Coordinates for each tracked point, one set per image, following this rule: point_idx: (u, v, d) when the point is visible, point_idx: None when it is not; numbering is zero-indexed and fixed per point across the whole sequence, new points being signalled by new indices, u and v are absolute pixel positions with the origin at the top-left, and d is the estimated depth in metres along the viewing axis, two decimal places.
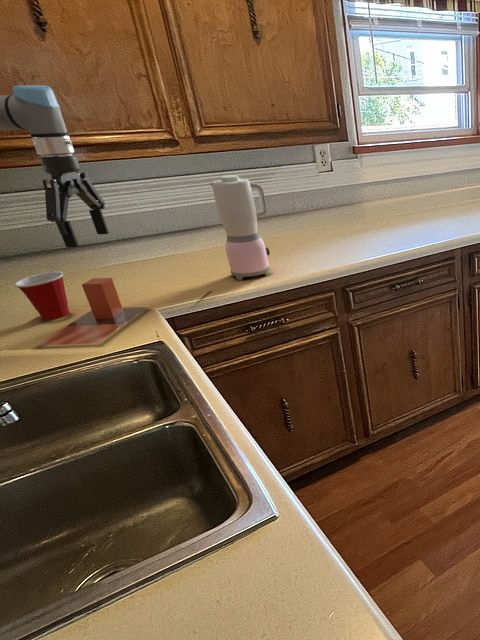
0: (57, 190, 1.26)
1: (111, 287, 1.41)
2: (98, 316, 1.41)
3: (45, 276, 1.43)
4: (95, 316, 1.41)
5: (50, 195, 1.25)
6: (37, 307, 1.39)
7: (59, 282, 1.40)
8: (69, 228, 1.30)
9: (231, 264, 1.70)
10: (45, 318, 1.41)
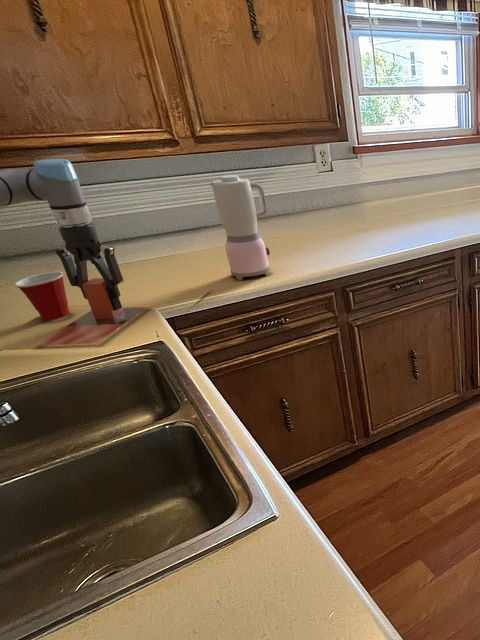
0: (63, 259, 1.34)
1: None
2: (98, 316, 1.41)
3: (45, 276, 1.43)
4: (95, 316, 1.41)
5: None
6: (37, 307, 1.39)
7: (59, 282, 1.40)
8: None
9: (231, 264, 1.70)
10: (45, 318, 1.41)
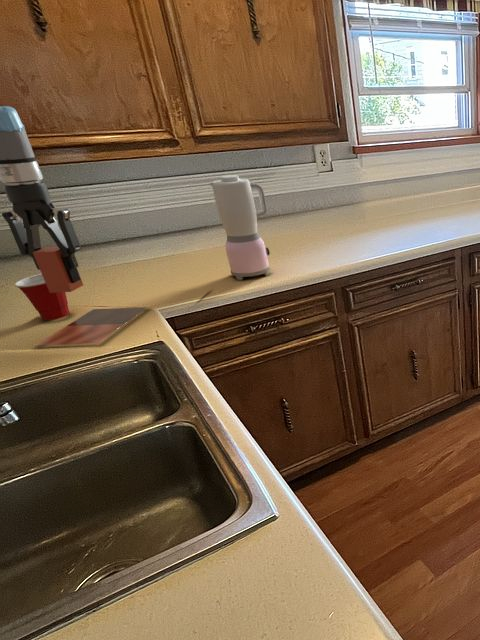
0: (11, 223, 1.19)
1: None
2: (53, 289, 1.25)
3: None
4: (50, 289, 1.25)
5: None
6: (37, 307, 1.39)
7: None
8: None
9: (231, 264, 1.70)
10: (45, 318, 1.41)
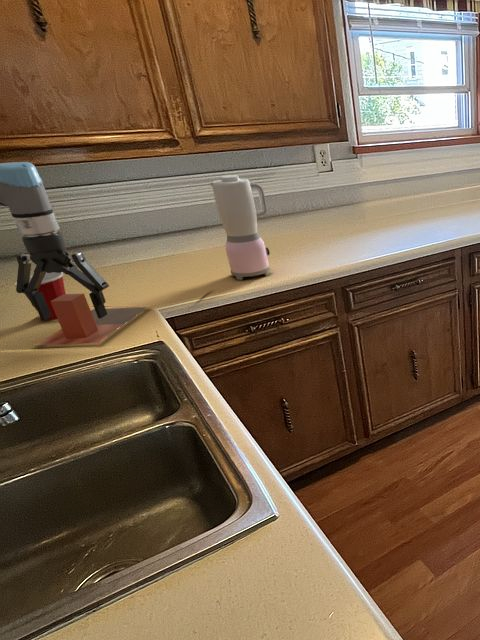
0: (21, 266, 1.22)
1: (83, 304, 1.30)
2: (69, 335, 1.30)
3: (45, 276, 1.43)
4: (66, 335, 1.30)
5: None
6: None
7: (59, 282, 1.40)
8: None
9: (231, 264, 1.70)
10: None
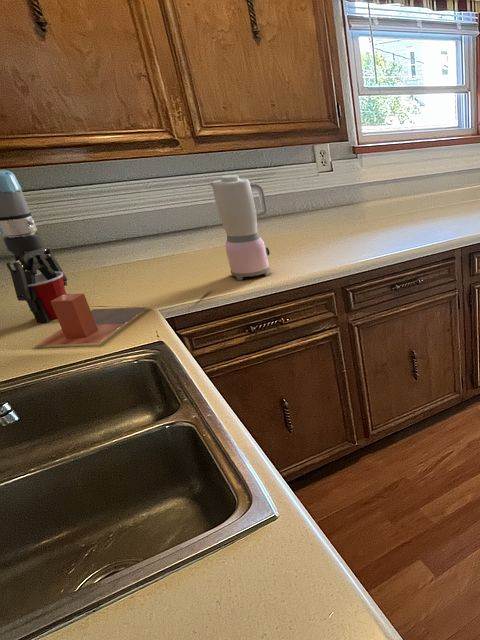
0: (22, 271, 1.32)
1: (83, 304, 1.30)
2: (69, 335, 1.30)
3: None
4: (66, 335, 1.30)
5: (16, 277, 1.32)
6: None
7: (59, 282, 1.40)
8: (40, 306, 1.37)
9: (231, 264, 1.70)
10: None
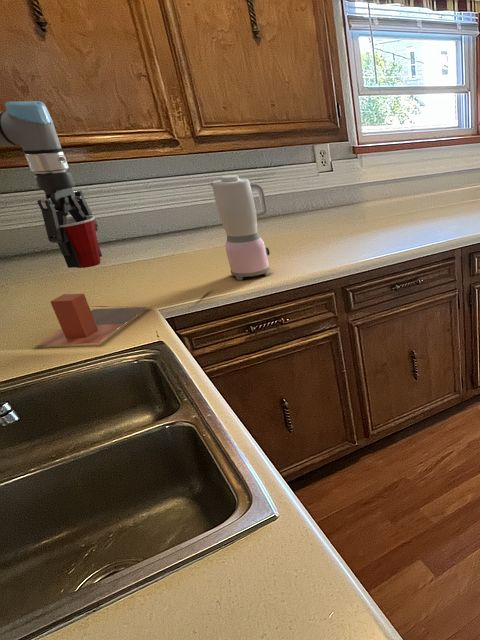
0: (54, 210, 1.25)
1: (83, 304, 1.30)
2: (69, 335, 1.30)
3: None
4: (66, 335, 1.30)
5: (48, 216, 1.24)
6: None
7: (91, 225, 1.32)
8: (71, 249, 1.30)
9: (231, 264, 1.70)
10: None
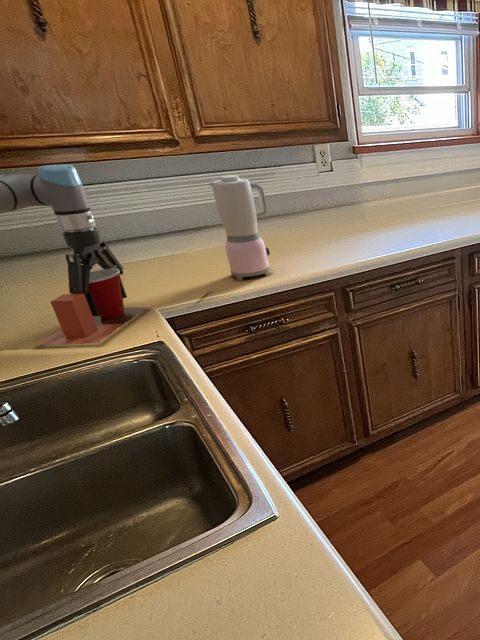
0: (79, 264, 1.30)
1: (83, 304, 1.30)
2: (69, 335, 1.30)
3: (101, 273, 1.43)
4: (66, 335, 1.30)
5: (73, 269, 1.30)
6: None
7: (116, 279, 1.39)
8: (90, 299, 1.34)
9: (231, 264, 1.70)
10: (102, 315, 1.40)
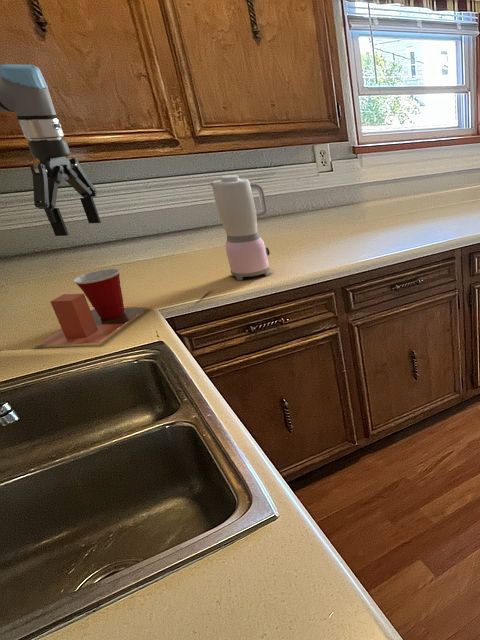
0: (45, 175, 1.20)
1: (83, 304, 1.30)
2: (69, 335, 1.30)
3: (101, 273, 1.43)
4: (66, 335, 1.30)
5: (38, 180, 1.20)
6: (94, 304, 1.38)
7: (116, 279, 1.39)
8: (59, 216, 1.24)
9: (231, 264, 1.70)
10: (102, 315, 1.40)
